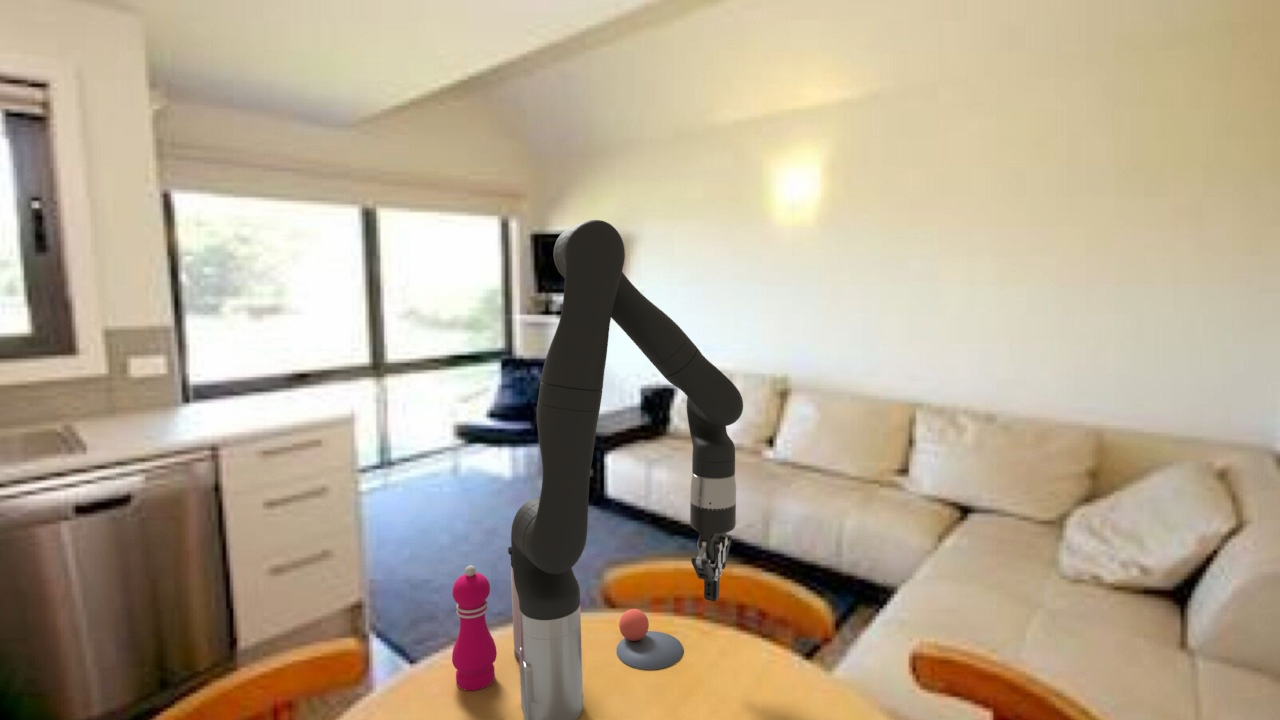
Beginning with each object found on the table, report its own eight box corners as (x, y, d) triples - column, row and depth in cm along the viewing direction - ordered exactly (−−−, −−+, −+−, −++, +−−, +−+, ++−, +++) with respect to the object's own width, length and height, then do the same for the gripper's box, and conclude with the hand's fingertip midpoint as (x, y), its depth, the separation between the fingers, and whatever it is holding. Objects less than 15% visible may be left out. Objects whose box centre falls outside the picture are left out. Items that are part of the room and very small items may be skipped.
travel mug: (508, 648, 118) (504, 542, 115) (543, 639, 121) (540, 536, 118) (517, 666, 112) (512, 556, 110) (553, 656, 115) (550, 548, 113)
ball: (629, 649, 116) (619, 619, 117) (621, 642, 121) (611, 613, 122) (656, 636, 118) (646, 606, 119) (647, 629, 123) (638, 601, 124)
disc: (627, 675, 109) (627, 674, 109) (608, 638, 120) (608, 637, 120) (693, 662, 113) (693, 661, 113) (669, 627, 124) (669, 626, 124)
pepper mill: (486, 695, 104) (481, 577, 102) (445, 690, 106) (438, 574, 103) (504, 669, 111) (499, 558, 109) (465, 664, 113) (460, 555, 110)
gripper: (720, 515, 100) (718, 621, 102) (747, 491, 112) (745, 587, 113) (676, 507, 103) (675, 610, 105) (706, 485, 115) (705, 578, 117)
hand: (711, 598), depth 109 cm, fingers closed
